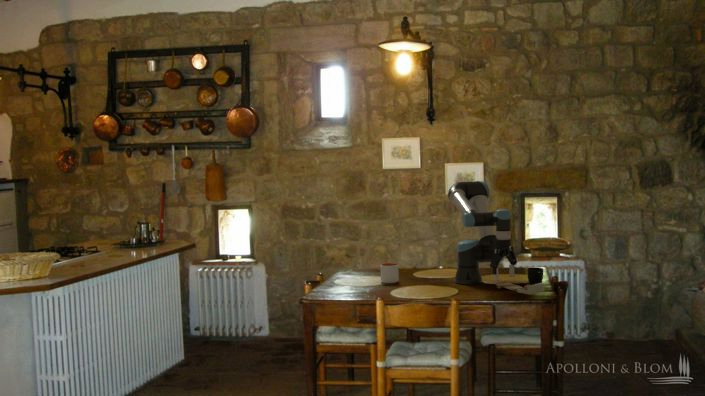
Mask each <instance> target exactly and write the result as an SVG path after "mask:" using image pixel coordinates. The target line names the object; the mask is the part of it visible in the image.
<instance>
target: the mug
mask: <svg viewBox="0 0 705 396" xmlns="http://www.w3.org/2000/svg"><path fill="white" fill-rule="evenodd" d="M526 272H527V273H526V274H527V280H528V284H529V285H534V284H538V283H543V280H544V268H542V267H538V266H537V267H533V266H532V267H527V268H526Z"/></svg>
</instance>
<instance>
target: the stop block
mask: <svg viewBox="0 0 705 396" xmlns="http://www.w3.org/2000/svg"><path fill="white" fill-rule="evenodd" d="M529 285H530V284H529ZM516 292H517V293H519V294H525V295H534V294H539V293H542V292H544V283H543V282H542V283H538V284H534V285H530V286H527V290H522V289H517V291H516Z"/></svg>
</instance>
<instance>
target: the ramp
mask: <svg viewBox="0 0 705 396" xmlns="http://www.w3.org/2000/svg"><path fill="white" fill-rule="evenodd" d="M495 286H496V288H497V289H503V288H504V289H508V290H511V291H514V292H517V289H524V287H525V286H524V287H523V286H520V285H517V284H514V283H510V282H508V281H506V280H503V281H500V282H496V283H495Z"/></svg>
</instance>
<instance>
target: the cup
mask: <svg viewBox="0 0 705 396" xmlns="http://www.w3.org/2000/svg"><path fill="white" fill-rule="evenodd" d="M379 265H380V282H381V283H383V284H395V283H396V284H397V283H398V282H399V264H398V263H394V262H393V263H392V262H387V263H381V264H379Z"/></svg>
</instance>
